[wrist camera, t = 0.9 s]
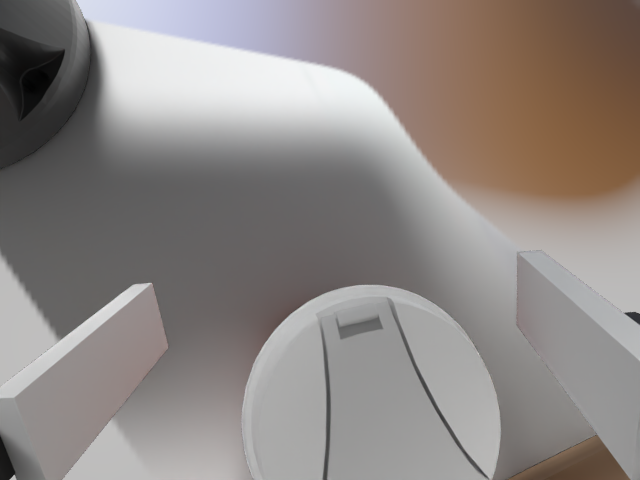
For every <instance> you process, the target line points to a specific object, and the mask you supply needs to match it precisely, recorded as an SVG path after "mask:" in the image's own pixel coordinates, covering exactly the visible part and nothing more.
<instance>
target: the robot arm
mask: <svg viewBox="0 0 640 480" xmlns="http://www.w3.org/2000/svg"><path fill="white" fill-rule="evenodd" d="M89 67H90V40H89V34H88V29H87V26H86V22H85V19H84V17H83V14H82V12H81V10H80V8H79V6H78V4H77V2H76V0H0V169H1V168H3V167H6V166H8V165H10V164H13V163H15V162H17V161H19V160H21V159H22V158H24V157H26V156H28V155H29V154H31V153H32V152H34V151H35V150H37V149H38V148H40V147H41V146H42V145H44V144H45V143H46V142H47V141H48V140H49V139H51V138H52V137H53V136H54V135H55V134H56V133H57V132H58V131H59V130H60V129H61V127H62V126H63V125H64V124H65V123H66V121H67V120H68V119H69V117H70V116H71V114H72V113H73V111H74V109H75V108H76V106H77V104H78V102H79V100H80V98H81V96H82V93H83V91H84V88H85V85H86V82H87V78H88V73H89ZM517 326H518V328H519V329H520V330H521V332H522V333H523V334H524V336H525V337H526V338H527V340H528V341H529V343H530V344H531V345H532V347H533V348H534V349H535V351H536V352H537V353H538V355H539V356H540V357H541V359H542V360H543V362H544V363H545V364H546V366H547V367H548V368H549V370H550V371H551V372H552V374H553V375H554V377H555V378H556V379H557V381H558V382H559V383H560V385H561V386H562V387H563V389H564V390H565V391H566V393H567V394H568V396H569V397H570V398H571V400H572V401H573V402H574V404H575V405H576V406H577V408H578V409H579V410H580V412H581V413H582V415H583V416H584V417H585V419H586V420H587V421H588V423H589V424H590V425H591V427H592V428H593V429H594V431H595V432H596V434H597V435H598V436H599V438H600V439H601V440H602V442H603V443H604V444H605V446H606V447H607V448H608V450H609V451H610V453H611V454H612V455H613V457H614V458H615V459H616V461H617V462H618V463H619V465H620V466H621V467H622V469H623V470H624V472H625V473H626V474H627V476H628V477H629V478H630V480H640V314H639V313H636V312H628V313H623V312H622V311H620V310H619V309H618V308H617V307H615V306H614V305H613V304H611V303H610V302H609V301H607V300H606V299H605V298H603V297H602V296H601V295H599V294H598V293H597V292H595V291H594V290H593V289H591V288H590V287H589V286H588V285H586V284H585V283H584V282H582V281H581V280H580V279H578V278H577V277H576V276H575V275H573V274H572V273H571V272H569V271H568V270H567V269H565V268H564V267H563V266H561V265H560V264H559V263H557V262H556V261H555V260H553V259H552V258H551V257H550V256H548V255H547V254H546V253H544V252H543V251H542V250H536V251H524V252H517ZM168 348H169V346H168V342H167V338H166V334H165V330H164V326H163V323H162V319H161V315H160V311H159V307H158V303H157V299H156V295H155V291H154V287H153V283H143V284H133V285H132V286H131V287H129V288H128V289H127V290H125V291H124V292H123V293H121V294H120V295H119V296H117V297H116V298H115V299H114V300H112V301H111V302H110V303H108V304H107V305H106V306H104V307H103V308H102V309H101V310H99V311H98V312H97V313H95V314H94V315H93V316H91V317H90V318H89V319H87V320H86V321H85V322H84V323H82V324H81V325H80V326H78V327H77V328H76V329H74V330H73V331H72V332H71V333H69V334H68V335H67V336H65V337H64V338H63V339H61V340H60V341H59V342H58V343H56V344H55V345H54V346H52V347H51V348H50V349H48V350H47V351H46V352H44V353H43V354H42V355H41V356H39V357H38V358H37V359H35V360H34V361H33V362H31V363H30V364H29V365H28V366H26V367H25V368H24V369H22V370H21V371H20V372H19V373H17V374H16V375H14V376H13V377H12V378H11V379H9V380H8V381H7V382H5V383H4V384H3V385H2V386H0V480H9V479H11V478H12V476H13V475H14V474H15V476H16V479H17V480H62V479H63V478H64V477H65V475H66V474H67V473H68V472H69V470H70V469H71V468H72V467H73V465H74V464H75V463H76V462H77V461H78V459H79V458H80V457H81V455H82V454H83V453H84V452H85V451H86V449H87V448H88V447H89V446H90V444H91V443H92V442H93V441H94V439H95V438H96V437H97V436H98V434H99V433H100V432H101V431H102V430H103V428H104V427H105V426H106V425H107V423H108V422H109V421H110V420H111V418H112V417H113V416H114V415H115V413H116V412H117V411H118V410H119V408H120V407H121V406H122V405H123V403H124V402H125V401H126V400H127V399H128V397H129V396H130V395H131V394H132V392H133V391H134V390H135V389H136V387H137V386H138V385H139V384H140V382H141V381H142V380H143V379H144V377H145V376H146V375H147V374H148V372H149V371H150V370H151V369H152V367H153V366H154V365H155V364H156V363H157V361H158V360H159V359H160V358H161V356H162V355H163V354H164V353H165V351H166V350H167V349H168Z"/></svg>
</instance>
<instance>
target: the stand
mask: <svg viewBox="0 0 640 480" xmlns="http://www.w3.org/2000/svg"><path fill="white" fill-rule="evenodd" d="M507 480H630V478H629V477H628V476H627V474H626V473H625V472H624V470H623V469H622V467H621V466H620V465H619V463H618V462H617V461H616V459H615V458H614V457H613V455H612V454H611V453H610V451H609V450H608V448H607V447H606V446H605V444H604V443H603V442H602V440H601V439H600V438H599V436H598V435H595V436H593V437H591V438H589V439H587V440H585V441H583V442H581V443H579V444H577V445H575V446H573V447H571V448H569V449H567V450H565V451H563V452H561V453H559V454H557V455H555V456H553V457H551V458H549V459H547V460H545V461H543V462H541V463H539V464H537V465H535V466H533V467H531V468H529V469H527V470H525V471H523V472H521V473H519V474H517V475H515V476H513V477H511V478H509V479H507Z"/></svg>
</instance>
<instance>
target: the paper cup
mask: <svg viewBox="0 0 640 480" xmlns="http://www.w3.org/2000/svg"><path fill="white" fill-rule="evenodd" d="M241 430H242V438H243V446H244V452H245V456H246V459H247V463H248V466H249V470H250V473H251V475H252V477H253V479H254V480H492V478H493V475H494V472H495V468H496V464H497V460H498V456H499V449H500V438H501V424H500V410H499V405H498V400H497V394H496V391H495V388H494V385H493V382H492V379H491V376H490V373H489V372H488V370H487V368H486V366H485V364H484V362H483V360H482V358H481V356H480V355H479V353H478V351H477V349H476V347H475V345H474V343H473V342H472V341H471V339H470V338H469V337H468V335H467V334H466V332H465V331H464V330H463V328H462V327H461V326H460V325H459V324H458V323H457V322H456V321H455V320H454V319H453V318H452V317H451V316H450V315H449V314H448V313H447V312H445V311H444V310H443V309H441V308H440V307H439V306H437V305H436V304H435V303H433V302H431V301H429V300H427V299H425V298H424V297H422V296H420V295H418V294H415V293H412V292H410V291H407V290H404V289H401V288H396V287H391V286H385V285H356V286H349V287H343V288H339V289H336V290H333V291H330V292H327V293H324V294H322V295H320V296H318V297H316V298H314V299H312V300H310V301H308V302H306V303H305V304H304V305H302V306H301V307H299V308H298V309H297V310H295V311H294V312H293V313H291V314H290V315H289V316H288V317H287V318H286V319H285V320H284V321H283V322H282V323H281V324H280V325H279V326H278V327H277V328H276V329H275V330H274V332H273V333H272V334H271V336H270V337H269V338H268V340H267V341H266V342H265V344H264V345H263V347H262V349H261V351H260V353H259V354H258V356H257V358H256V360H255V362H254V364H253V367H252V370H251V372H250V375H249V378H248V381H247V384H246V389H245V394H244V400H243V405H242V428H241ZM485 477H486V478H485Z"/></svg>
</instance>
